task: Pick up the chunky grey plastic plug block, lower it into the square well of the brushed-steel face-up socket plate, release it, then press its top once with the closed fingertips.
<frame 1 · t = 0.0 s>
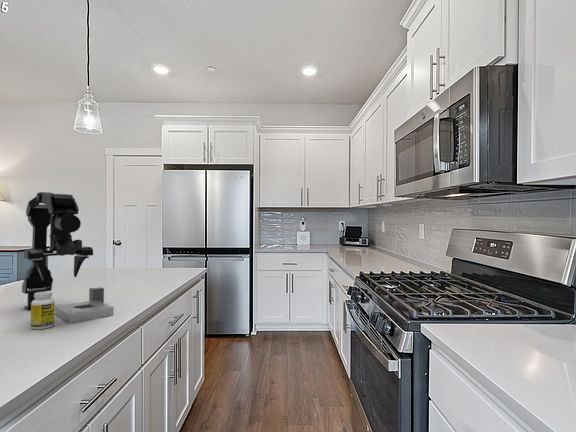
hand: (59, 278, 118), 15 cm above the worktop, fingers open, 9 cm apart
plug: (96, 305, 141), on the worktop
socket plate: (84, 315, 127), on the worktop
pill bottle: (42, 327, 113), on the worktop
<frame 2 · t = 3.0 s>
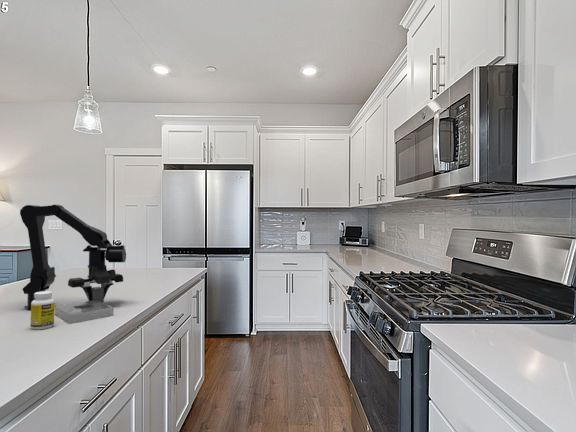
hand: (96, 301, 141), 2 cm above the worktop, fingers closed on plug, 4 cm apart
plug: (96, 305, 141), on the worktop, touching gripper
everything else where it was.
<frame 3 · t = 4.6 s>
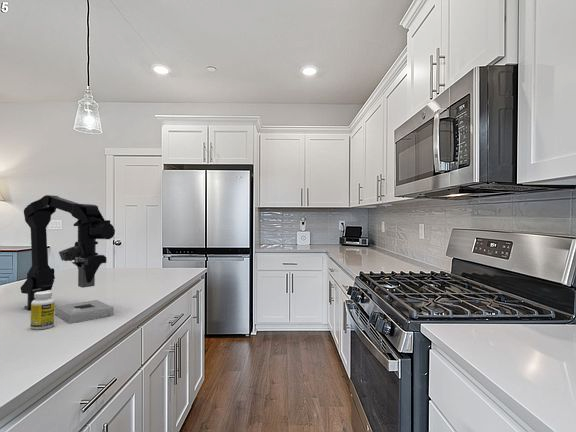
hand: (86, 281, 129), 12 cm above the worktop, fingers closed on plug, 4 cm apart
plug: (86, 286, 129), point 10 cm above the worktop, touching gripper
everything else where it was.
when the fingers open (4 cm above the worktop, at t = 6.5 s): plug drops 1 cm, resting on socket plate.
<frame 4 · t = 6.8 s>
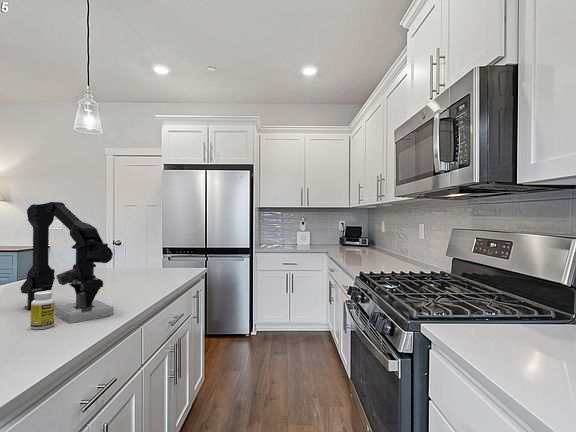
hand: (84, 304, 127), 4 cm above the worktop, fingers open, 8 cm apart
plug: (83, 313, 127), point 1 cm above the worktop, touching socket plate
everything else where it was.
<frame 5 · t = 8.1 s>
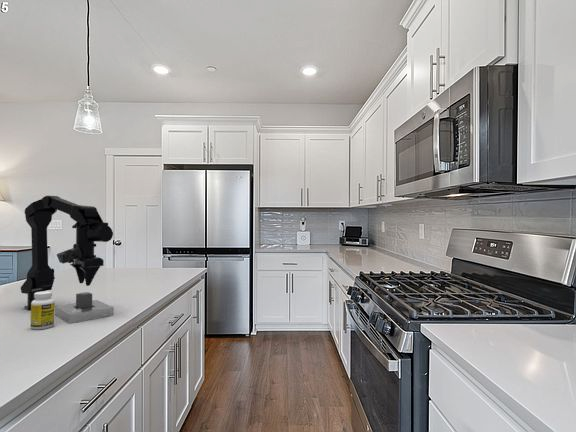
hand: (84, 284, 127), 11 cm above the worktop, fingers open, 6 cm apart
nothing on the worktop moved.
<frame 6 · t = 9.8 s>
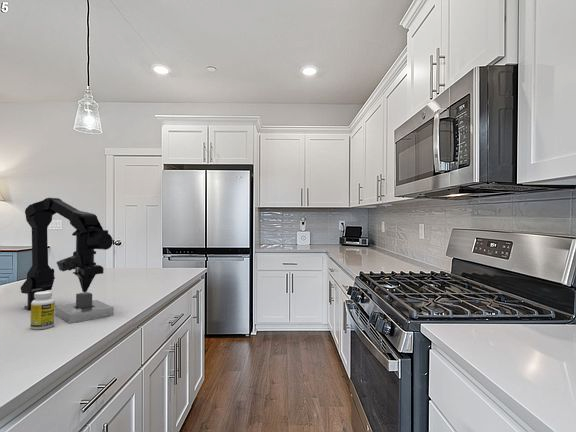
hand: (84, 291, 127), 8 cm above the worktop, fingers closed
nothing on the worktop moved.
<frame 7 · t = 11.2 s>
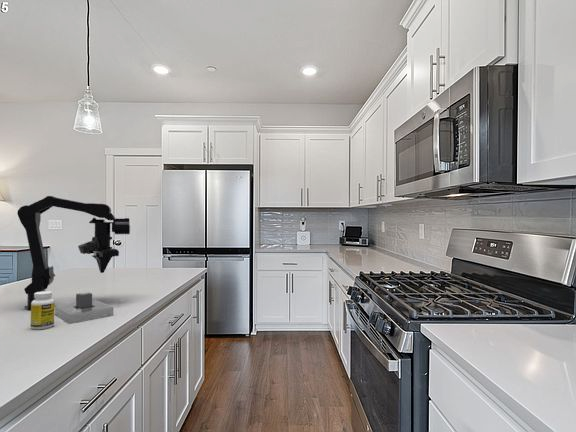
hand: (101, 272, 145), 13 cm above the worktop, fingers closed
nothing on the worktop moved.
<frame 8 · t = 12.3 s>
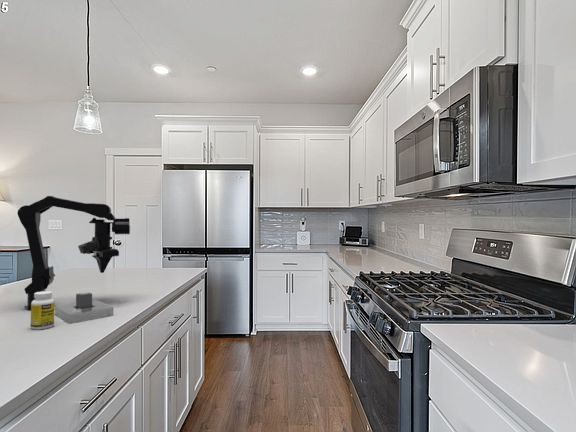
hand: (102, 272, 145), 12 cm above the worktop, fingers closed
nothing on the worktop moved.
at the end: plug 0.0 cm off-centre on the socket plate, point 0.6 cm above the socket plate's base; plug tilted 0°; the gripper is holding nothing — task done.
